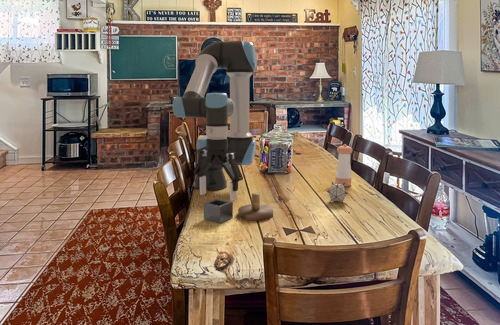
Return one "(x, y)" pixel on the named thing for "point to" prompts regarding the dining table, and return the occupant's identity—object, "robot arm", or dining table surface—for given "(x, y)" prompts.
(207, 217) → the hollow square box
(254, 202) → the round base with post
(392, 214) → the dining table surface
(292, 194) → the dining table surface
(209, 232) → the dining table surface
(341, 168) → the pepper shaker
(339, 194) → the game die
